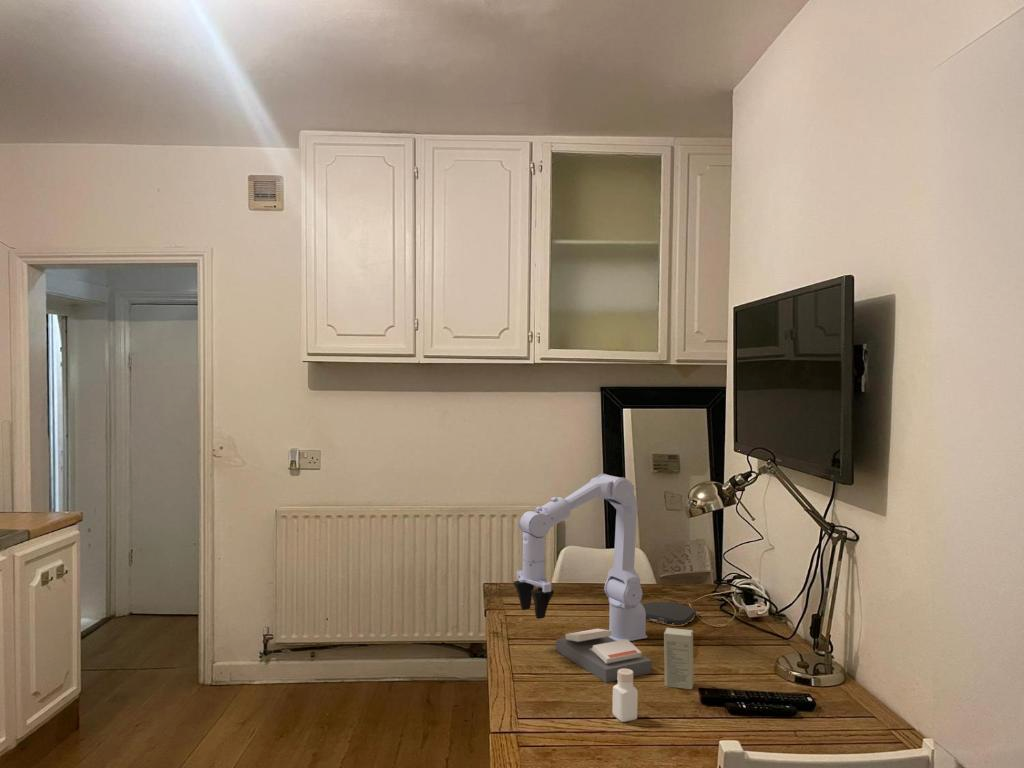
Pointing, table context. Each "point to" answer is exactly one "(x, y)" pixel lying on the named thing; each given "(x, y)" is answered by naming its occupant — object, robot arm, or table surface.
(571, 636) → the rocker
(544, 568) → the robot arm
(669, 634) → the skincare box
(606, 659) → the rocker
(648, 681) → the table surface
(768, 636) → the table surface
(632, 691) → the white pill bottle
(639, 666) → the rocker switch panel
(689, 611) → the media streaming box
